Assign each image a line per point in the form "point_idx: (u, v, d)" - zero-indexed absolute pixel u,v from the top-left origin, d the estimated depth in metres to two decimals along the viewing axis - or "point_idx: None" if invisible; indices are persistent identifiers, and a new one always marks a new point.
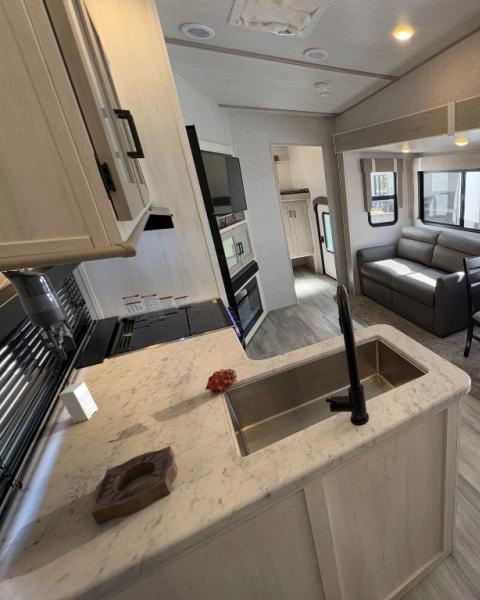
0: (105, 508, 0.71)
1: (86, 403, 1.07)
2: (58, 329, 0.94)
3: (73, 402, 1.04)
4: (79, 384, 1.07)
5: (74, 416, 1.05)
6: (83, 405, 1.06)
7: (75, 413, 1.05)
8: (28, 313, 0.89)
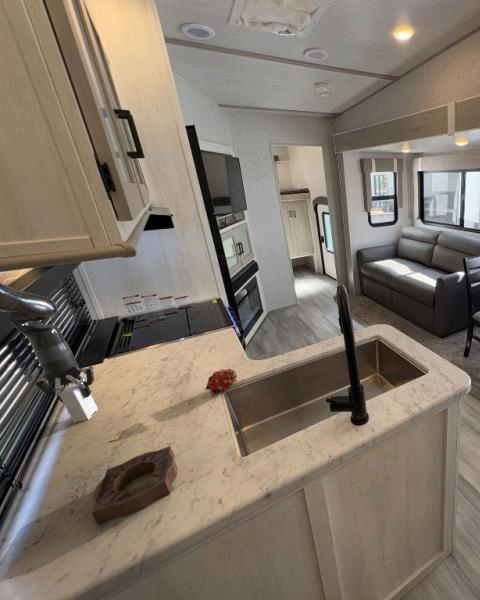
0: (105, 508, 0.71)
1: (86, 403, 1.07)
2: (55, 378, 1.01)
3: (73, 402, 1.04)
4: None
5: (74, 416, 1.05)
6: (83, 405, 1.06)
7: (75, 413, 1.05)
8: None
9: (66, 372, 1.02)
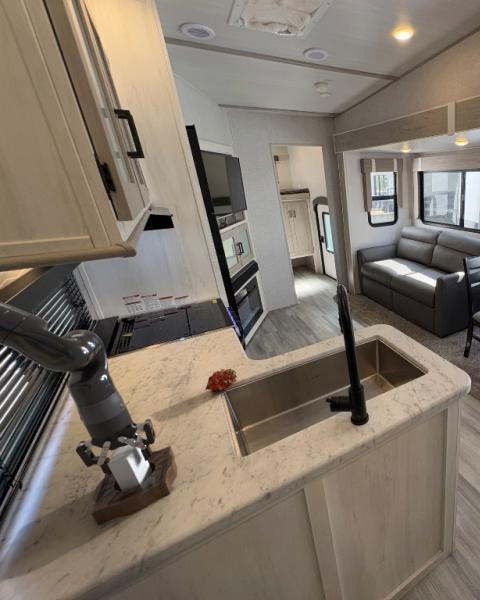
0: (105, 508, 0.71)
1: (141, 470, 0.79)
2: (104, 442, 0.72)
3: (126, 473, 0.75)
4: None
5: None
6: (138, 475, 0.77)
7: (128, 486, 0.76)
8: None
9: (118, 433, 0.74)
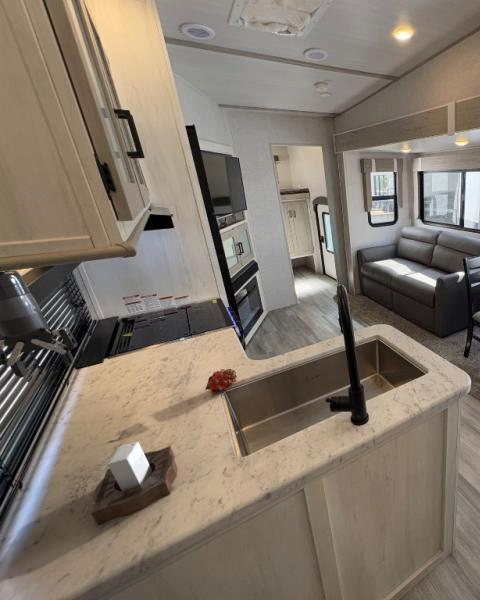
0: (105, 508, 0.71)
1: (141, 470, 0.79)
2: (17, 343, 0.75)
3: (126, 473, 0.75)
4: (132, 445, 0.78)
5: None
6: (138, 475, 0.77)
7: (128, 486, 0.76)
8: None
9: (32, 335, 0.76)
